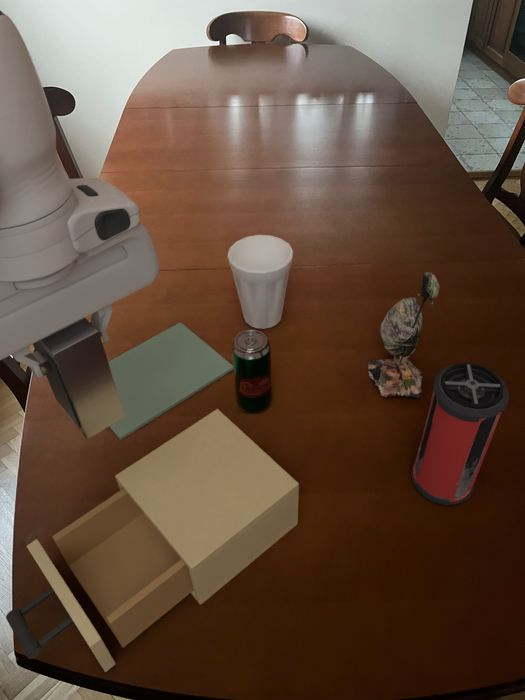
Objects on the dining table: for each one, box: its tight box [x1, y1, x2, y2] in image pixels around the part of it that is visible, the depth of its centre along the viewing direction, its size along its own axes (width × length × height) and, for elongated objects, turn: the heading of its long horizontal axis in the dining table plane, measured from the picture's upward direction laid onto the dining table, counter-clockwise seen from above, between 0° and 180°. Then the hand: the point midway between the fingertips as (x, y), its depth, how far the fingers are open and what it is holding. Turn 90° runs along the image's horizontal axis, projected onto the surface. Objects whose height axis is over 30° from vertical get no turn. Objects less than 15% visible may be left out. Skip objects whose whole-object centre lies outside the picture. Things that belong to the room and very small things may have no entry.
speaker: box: [410, 362, 510, 506], centre depth 68 cm, size 8×8×18 cm
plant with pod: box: [367, 271, 440, 399], centre depth 81 cm, size 8×11×20 cm
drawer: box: [5, 488, 194, 673], centre depth 62 cm, size 18×13×7 cm
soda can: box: [231, 329, 273, 414], centre depth 81 cm, size 5×5×12 cm
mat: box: [108, 321, 234, 441], centre depth 89 cm, size 20×14×1 cm
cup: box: [227, 234, 294, 330], centre depth 93 cm, size 10×10×13 cm
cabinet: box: [114, 408, 300, 606], centre depth 68 cm, size 15×15×9 cm
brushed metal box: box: [32, 317, 125, 440], centre depth 57 cm, size 4×6×12 cm
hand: (71, 356), depth 56 cm, fingers closed on brushed metal box, 4 cm apart
